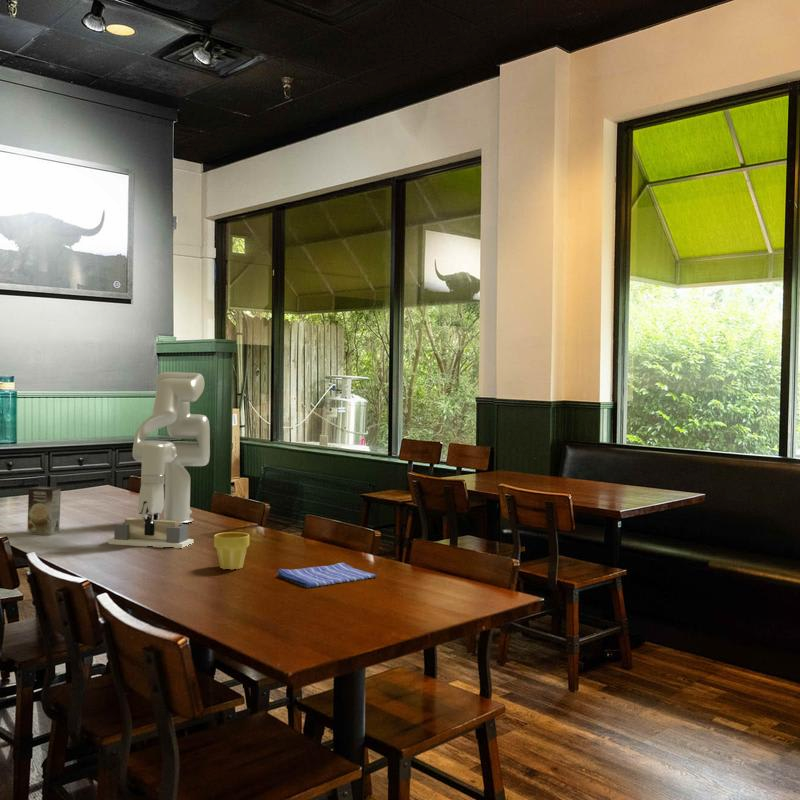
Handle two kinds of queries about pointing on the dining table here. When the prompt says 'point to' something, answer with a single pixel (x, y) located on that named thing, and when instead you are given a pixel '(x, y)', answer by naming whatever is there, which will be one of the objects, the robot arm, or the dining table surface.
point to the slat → (159, 528)
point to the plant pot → (231, 549)
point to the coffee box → (43, 510)
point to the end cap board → (175, 539)
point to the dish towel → (324, 575)
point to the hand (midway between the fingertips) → (151, 533)
